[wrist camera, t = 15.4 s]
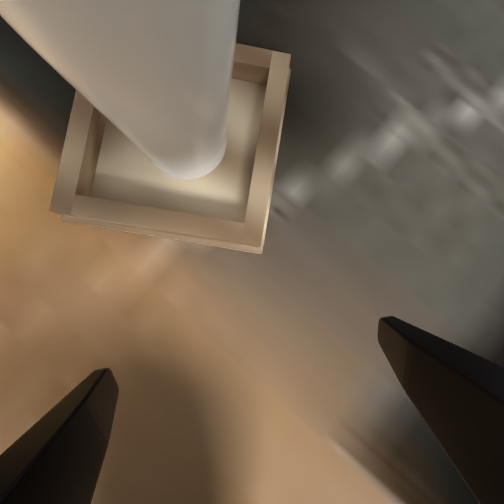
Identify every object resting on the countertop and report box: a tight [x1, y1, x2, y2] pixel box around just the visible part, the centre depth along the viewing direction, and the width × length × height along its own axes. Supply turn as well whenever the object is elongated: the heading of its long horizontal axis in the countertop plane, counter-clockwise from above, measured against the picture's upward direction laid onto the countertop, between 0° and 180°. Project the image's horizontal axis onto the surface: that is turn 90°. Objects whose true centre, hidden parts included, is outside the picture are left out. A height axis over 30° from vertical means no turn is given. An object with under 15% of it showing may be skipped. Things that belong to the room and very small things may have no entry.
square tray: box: [49, 43, 291, 254], centre depth 18 cm, size 13×13×2 cm
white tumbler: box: [0, 0, 240, 180], centre depth 11 cm, size 7×7×15 cm
